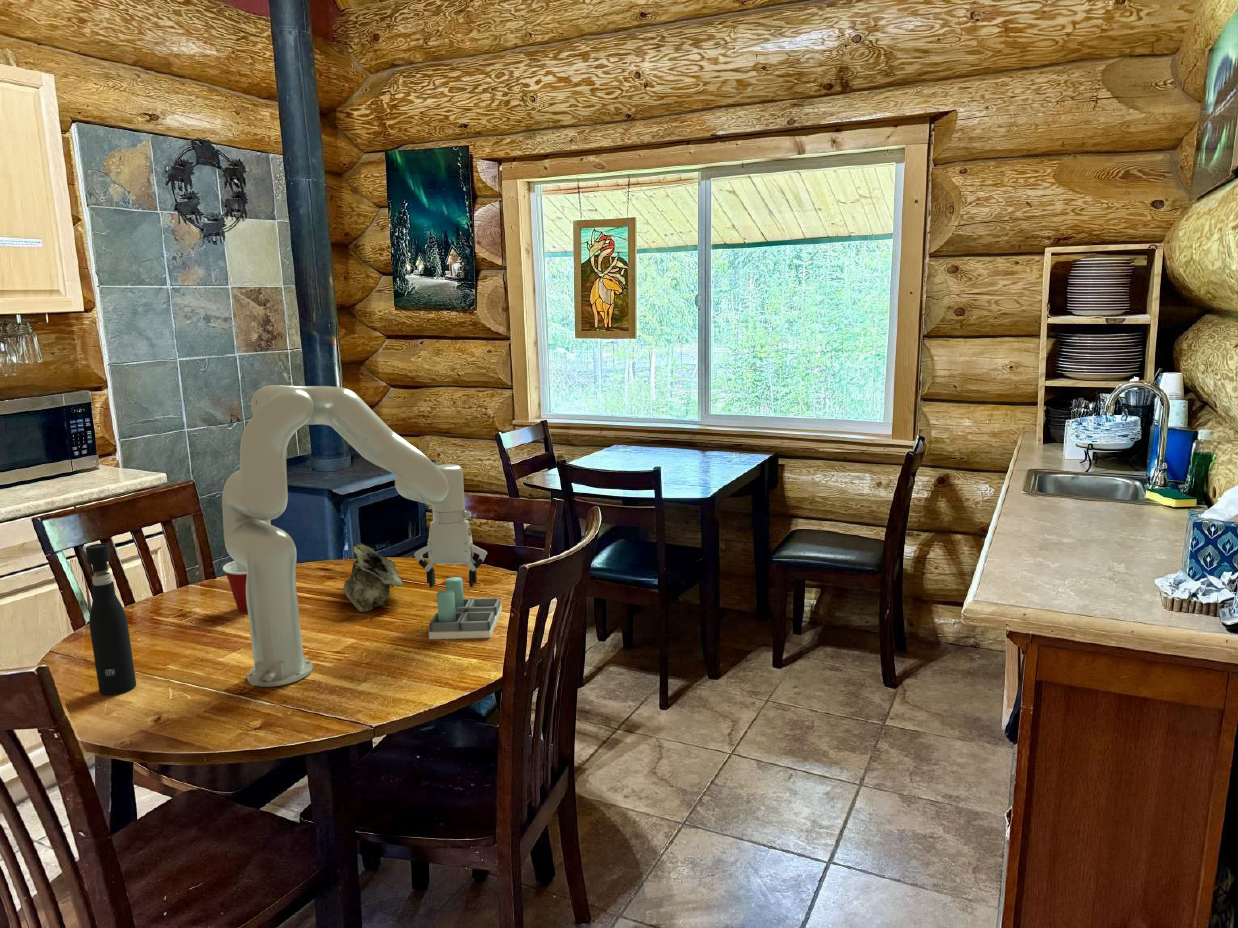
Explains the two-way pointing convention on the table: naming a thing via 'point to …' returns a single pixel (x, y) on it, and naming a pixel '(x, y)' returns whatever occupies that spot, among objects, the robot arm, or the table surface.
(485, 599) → the pin board
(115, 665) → the black water bottle
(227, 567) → the plastic cup
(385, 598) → the hollow geode rock
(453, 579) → the teal peg
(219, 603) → the table surface
